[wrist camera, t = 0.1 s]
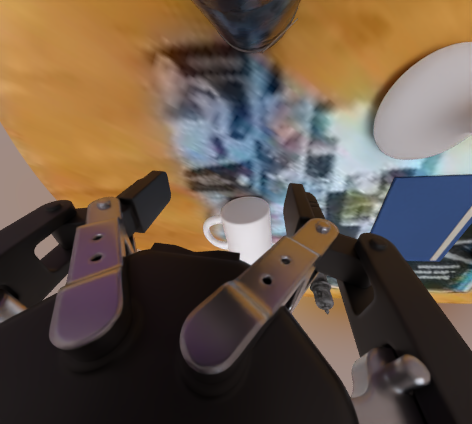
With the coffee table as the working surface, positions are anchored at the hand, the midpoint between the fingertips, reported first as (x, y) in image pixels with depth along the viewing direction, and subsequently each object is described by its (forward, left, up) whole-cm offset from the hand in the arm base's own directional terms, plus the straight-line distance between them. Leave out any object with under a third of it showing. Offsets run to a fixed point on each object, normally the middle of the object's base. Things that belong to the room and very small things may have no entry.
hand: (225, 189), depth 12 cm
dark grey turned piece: (+24, +16, -17) cm, 33 cm away
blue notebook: (+13, +31, -17) cm, 38 cm away
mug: (+16, 0, -17) cm, 24 cm away
